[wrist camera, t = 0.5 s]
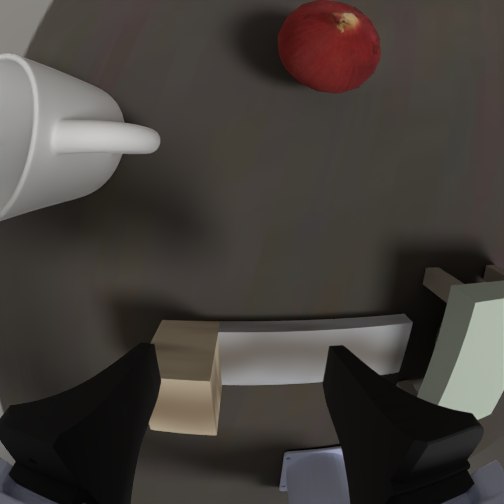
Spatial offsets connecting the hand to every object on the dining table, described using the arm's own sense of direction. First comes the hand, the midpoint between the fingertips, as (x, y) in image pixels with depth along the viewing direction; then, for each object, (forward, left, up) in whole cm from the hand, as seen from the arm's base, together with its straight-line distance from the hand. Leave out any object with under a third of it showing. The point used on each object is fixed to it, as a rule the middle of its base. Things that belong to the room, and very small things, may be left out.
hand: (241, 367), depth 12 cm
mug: (+10, +10, -10) cm, 18 cm away
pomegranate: (+15, -5, -10) cm, 19 cm away
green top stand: (-6, -19, -10) cm, 22 cm away
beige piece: (-6, -3, -10) cm, 12 cm away
